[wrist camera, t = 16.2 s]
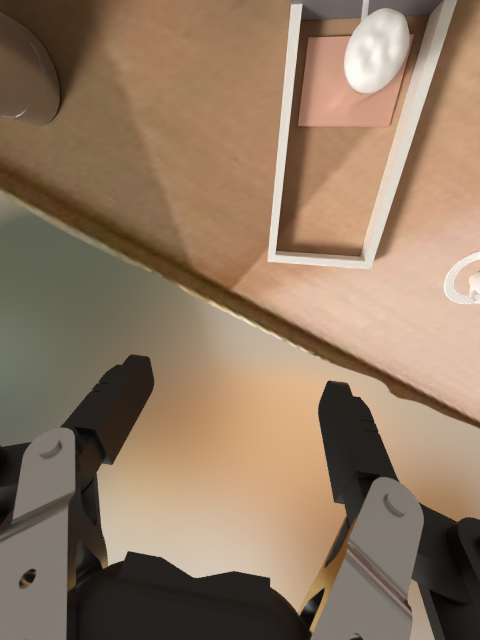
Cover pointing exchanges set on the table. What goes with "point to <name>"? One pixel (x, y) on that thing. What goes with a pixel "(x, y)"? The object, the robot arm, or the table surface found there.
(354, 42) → the milkshake
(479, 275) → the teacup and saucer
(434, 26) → the tray
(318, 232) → the table surface
